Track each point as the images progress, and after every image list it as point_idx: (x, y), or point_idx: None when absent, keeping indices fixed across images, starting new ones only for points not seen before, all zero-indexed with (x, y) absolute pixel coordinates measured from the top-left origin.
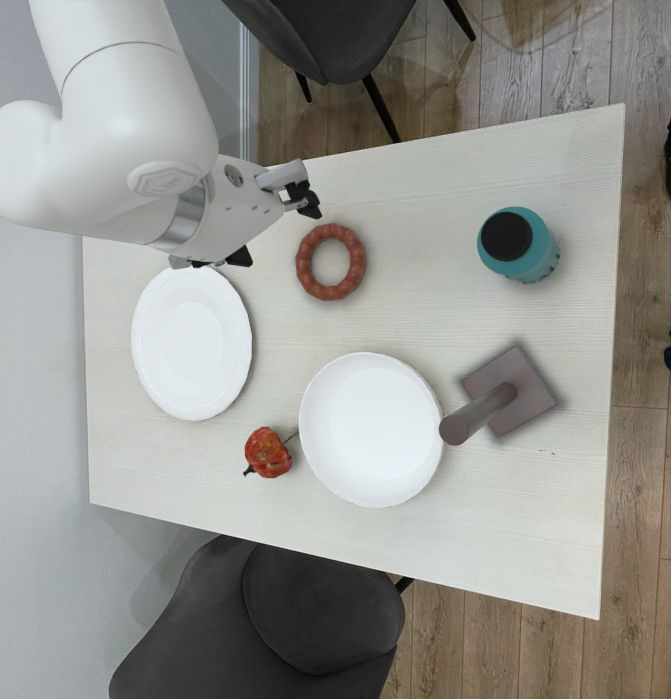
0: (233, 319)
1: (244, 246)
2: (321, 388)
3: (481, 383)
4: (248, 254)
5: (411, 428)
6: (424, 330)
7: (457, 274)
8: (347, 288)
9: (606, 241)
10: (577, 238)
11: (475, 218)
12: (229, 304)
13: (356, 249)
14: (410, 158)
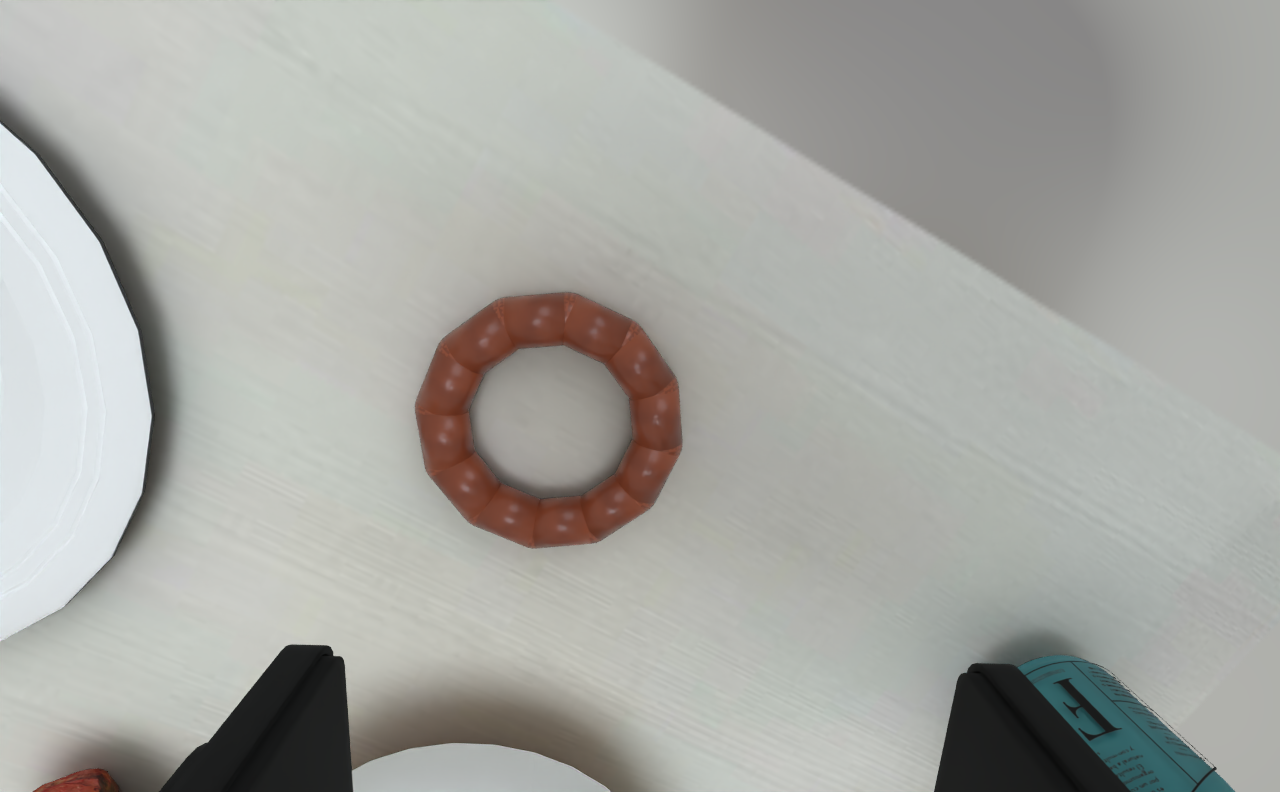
0: (76, 403)
1: (334, 722)
2: None
3: None
4: (342, 778)
5: None
6: (705, 710)
7: (860, 636)
8: (573, 541)
9: None
10: None
11: (984, 542)
12: (77, 342)
13: (666, 458)
14: (948, 287)
